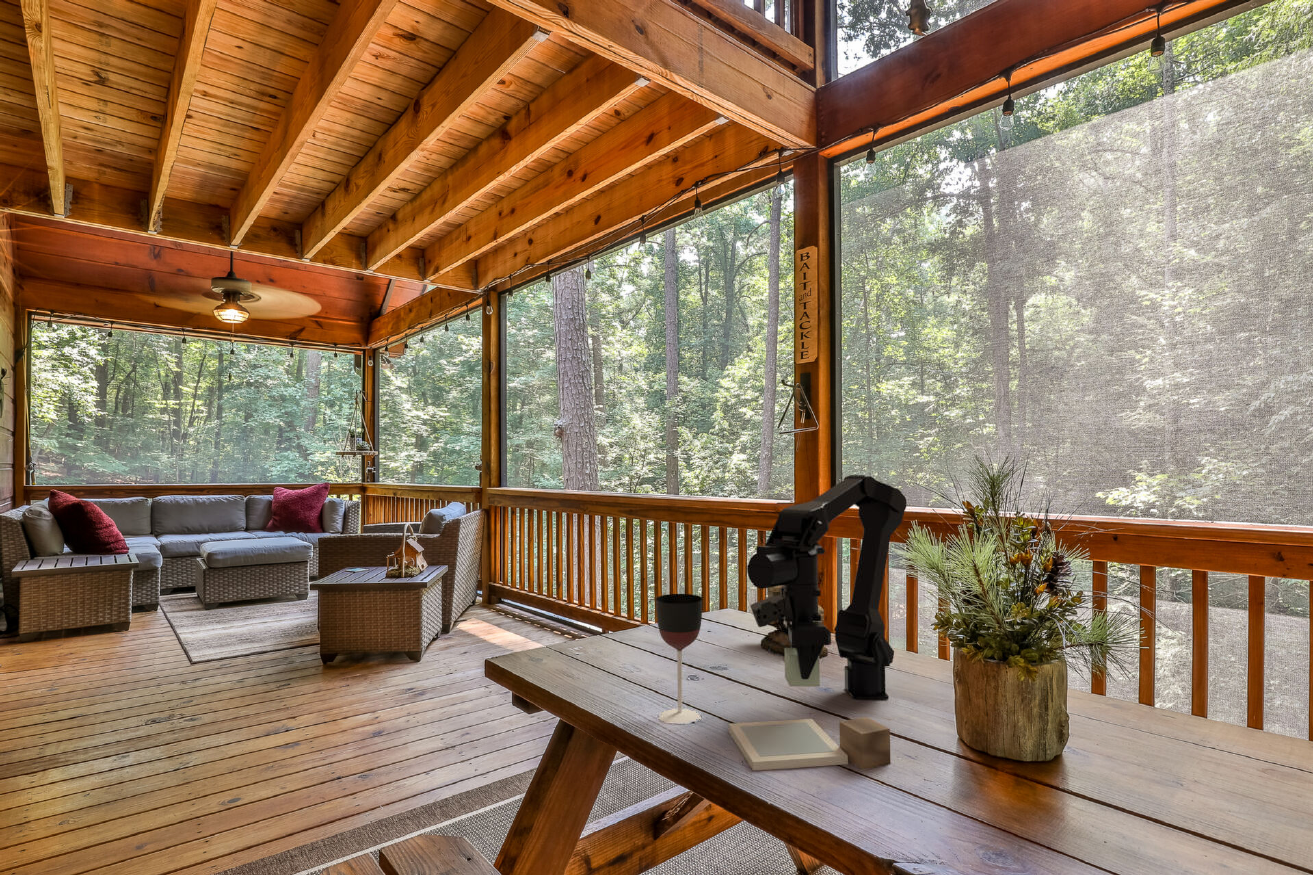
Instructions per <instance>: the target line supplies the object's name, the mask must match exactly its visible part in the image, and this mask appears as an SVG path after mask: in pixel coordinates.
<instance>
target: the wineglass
mask: <svg viewBox="0 0 1313 875" xmlns="http://www.w3.org/2000/svg"><path fill="white" fill-rule="evenodd" d="M655 607H656V609H655V610H656V620H657V627H658V631H659V635H660V637H661V639H662V640H663V642H665V643H666V644H667V645H669V646H670V647H672V648H674V649H675V650H677V655H676V656H677V657H676V658H677V660H676V661H677V662H676V663H677V708H678V709H675V708H671V709H672V710H668V709H667V710H668V711H665V710H663V711H664V712H663V713H661V712H660V713H659V714H662V715H659V714H658V715H659V716H660V717H659V718H658V719H659V720H660V721H661V722H663V721H665V722H664V723H666V724H669V723H689V722H690V721H696V719H700V720H702V718H701V717H699V716H700V715H698V714H699V713H700V712H699V713H696V711H697V710H694V711H691V710H692V709H691V710H689V709H690V708H685V709H682V708H683V664H682V663H683V661H682V660H683V654H682V652H683V650H684V649H686V648H687V647H688V646H689V647H690V646H691V644H693V643H694V642H695V641H696V640H697V638H698V636H699V634H700V631H701V626H702V619H703V618H702V616H703V597H702V596H699V595H697V594H691V593H669V594H663V595H659V596H657V597H655Z"/></svg>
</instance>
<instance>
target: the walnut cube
mask: <svg viewBox="0 0 1313 875" xmlns="http://www.w3.org/2000/svg"><path fill="white" fill-rule="evenodd" d="M838 723H839V727H838V728H839V747H840V748H841V749H842V750H843V751H844V752H845V753H846V754H847V755H848V763H849V762H850V763H851V764H853V765H855V766H856V767H858V768H859V769H860V770H862V771H863V770H867V769H872V768H877V767H881V766H885V765H891V763H892V762H891V729H890V727H887V726H885V725H883V724H881V723H879V722H877V721H876V720H873V719H871V718H869V717H868V716H862V717H857V718H852V719H847V720H842V721H839V722H838Z"/></svg>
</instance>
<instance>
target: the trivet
mask: <svg viewBox="0 0 1313 875" xmlns="http://www.w3.org/2000/svg"><path fill="white" fill-rule="evenodd" d="M728 732H729V734H730V736H731V737H732V739H733V741H734V742H735V744H736V746H737V747H738V748H739V750H740V752H741V753H742V755H743V757H744V758H745V760H746V761H747V763H748V765H749V766H750V767H751V768H750V769H752V771H753V772H754V771H769V770H781V769H782V770H783V769H784V770H785V769H796V768H811V767H812V768H813V767H824V766H827V767H828V766H837V765H838V766H839V765H840V766H841V765H848V764H849V761H848V755H847V754H846V753H845V752H844V751H843V750H842V749H841V748H840V745H838V744H837V743H836V742H835V741H834V740H833V739H832V738H831V737H830V736H829V735H828V734H827V733H826V732H825V731H824V730H823V729H822V728H821V727H820V725H818V724H817V723H816V722H815V721H814V720H813V719H812V718H804V719H802V718H801V719H790V720H770V721H756V722H755V721H754V722H753V721H752V722H738V723H737V722H735V723H728Z"/></svg>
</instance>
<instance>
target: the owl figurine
mask: <svg viewBox="0 0 1313 875" xmlns="http://www.w3.org/2000/svg"><path fill="white" fill-rule="evenodd" d="M780 587H782V585H781V586H776V587H770V588H766V590H767V597H766V598H765V599H767V598H770V597H774V596H777V595H780ZM824 611H825V610H824V609H823V607H821V605H819V604H818V613H819V614H820V615H821V621H813V622H821V623H822V624H823V625H824V621H825V619H824V617H825V614H824ZM780 624H784V619H782V620H781V622H778V621H774V622H771V623H769V624H767V626H770V627H773V628H775V629H774V630H773V631H769V632H767V634H766V635H765V636H764V637H763V638H762V639H760V647H761V649H763V650H765V651H766V652H770V653H771V654H774V655H778V654H779V655H778V656H781V655H782V656H783V657H785V648H791V645H790V642H789V641H788V639H787V638H789V637H788V636H787V635H786V634H785V633H784V632H783V631H782V630H781V628H780V626H779V625H780ZM828 654H829V650H828V648H827V647H826V645H824V646H823V648H822V650H821V652H820V654H819V659H821V657H823V658H825V657H824V656H826V657H827V656H828Z"/></svg>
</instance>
